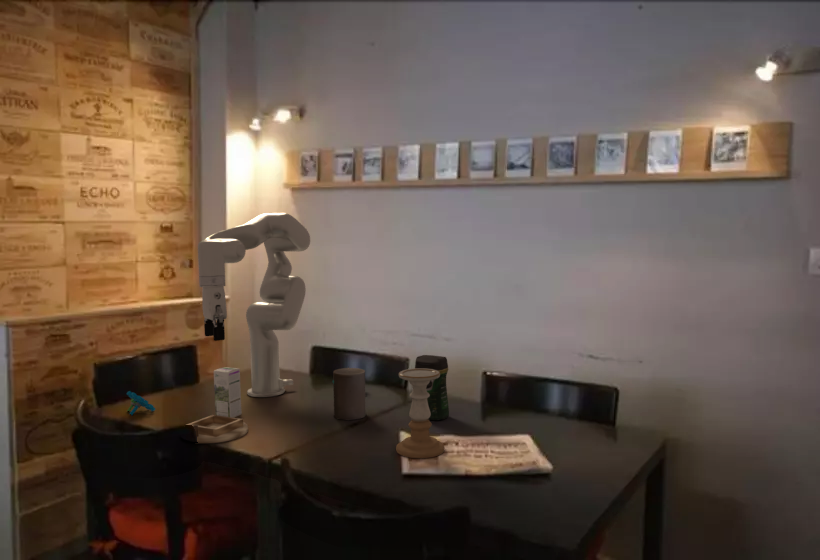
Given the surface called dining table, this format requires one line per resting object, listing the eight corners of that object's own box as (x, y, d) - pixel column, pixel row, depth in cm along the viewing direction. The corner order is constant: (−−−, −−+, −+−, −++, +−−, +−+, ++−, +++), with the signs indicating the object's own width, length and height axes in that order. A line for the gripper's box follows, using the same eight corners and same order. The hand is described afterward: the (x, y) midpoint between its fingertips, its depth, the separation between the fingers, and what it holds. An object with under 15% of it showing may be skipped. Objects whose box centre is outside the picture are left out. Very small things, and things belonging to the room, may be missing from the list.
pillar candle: (328, 418, 205) (326, 368, 204) (343, 410, 214) (342, 362, 213) (357, 421, 202) (356, 371, 201) (371, 413, 211) (370, 364, 210)
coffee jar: (452, 416, 206) (452, 354, 205) (440, 422, 199) (439, 359, 198) (424, 411, 211) (423, 351, 210) (411, 418, 204) (410, 356, 203)
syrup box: (242, 414, 211) (240, 367, 210) (229, 419, 206) (227, 371, 205) (227, 412, 214) (225, 366, 213) (214, 417, 208) (212, 370, 207)
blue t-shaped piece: (161, 408, 213) (135, 389, 209) (148, 424, 210) (122, 406, 206) (149, 406, 222) (124, 388, 217) (137, 422, 219) (111, 404, 214)
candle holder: (397, 443, 181) (396, 367, 180) (444, 442, 181) (443, 367, 179) (394, 459, 169) (393, 378, 168) (445, 458, 169) (444, 377, 167)
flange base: (212, 421, 205) (212, 407, 204) (261, 428, 196) (260, 413, 196) (166, 438, 188) (165, 423, 188) (217, 446, 180) (216, 431, 180)
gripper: (233, 282, 201) (235, 340, 203) (216, 279, 216) (218, 333, 218) (207, 284, 197) (210, 343, 199) (192, 280, 212) (194, 335, 214)
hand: (214, 338), depth 208 cm, fingers open, 9 cm apart
